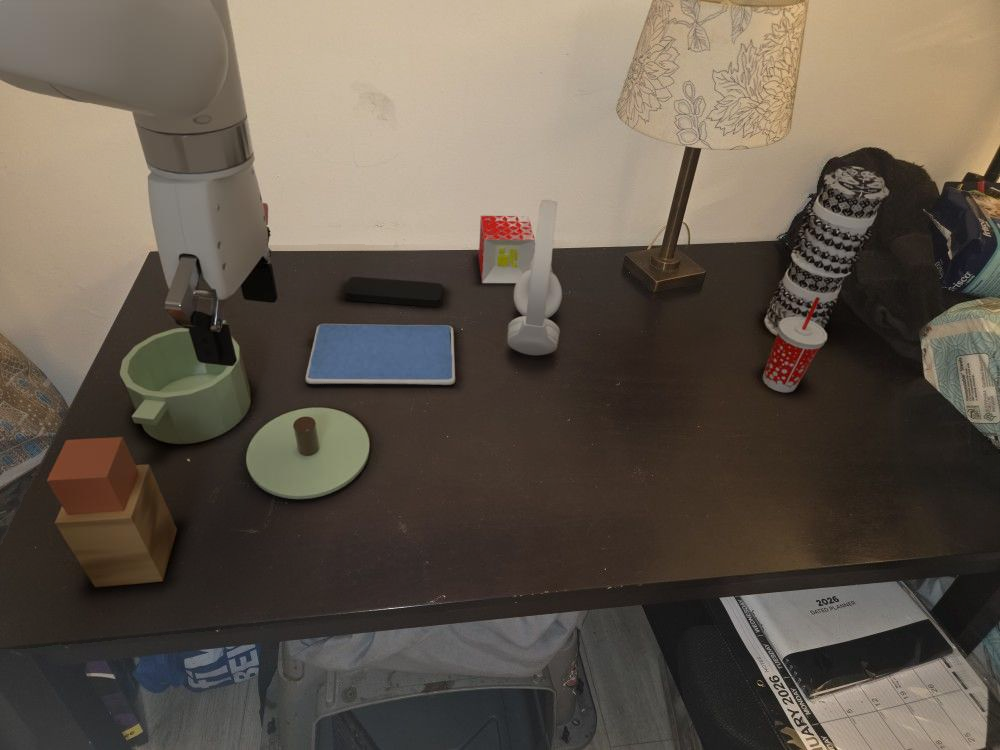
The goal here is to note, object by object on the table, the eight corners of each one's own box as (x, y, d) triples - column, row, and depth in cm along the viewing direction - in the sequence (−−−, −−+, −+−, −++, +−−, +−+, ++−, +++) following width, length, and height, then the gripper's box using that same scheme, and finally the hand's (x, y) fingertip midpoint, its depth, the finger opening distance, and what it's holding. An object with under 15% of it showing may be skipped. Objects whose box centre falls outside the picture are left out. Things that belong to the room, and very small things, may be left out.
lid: (382, 421, 80) (380, 390, 76) (351, 510, 69) (347, 478, 66) (274, 408, 80) (267, 376, 77) (227, 494, 70) (217, 462, 66)
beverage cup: (798, 371, 93) (838, 289, 83) (804, 399, 88) (847, 316, 79) (754, 364, 93) (789, 281, 84) (758, 391, 89) (796, 307, 80)
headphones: (559, 303, 102) (577, 182, 89) (554, 378, 88) (575, 248, 75) (514, 297, 102) (525, 176, 89) (502, 372, 88) (513, 241, 75)
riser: (163, 581, 62) (131, 517, 55) (94, 587, 61) (54, 523, 54) (177, 529, 66) (149, 464, 60) (113, 534, 65) (78, 468, 59)
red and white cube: (481, 283, 105) (484, 239, 100) (478, 257, 111) (480, 215, 105) (530, 283, 106) (535, 240, 100) (524, 258, 112) (529, 216, 106)
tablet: (453, 330, 95) (453, 323, 94) (455, 388, 85) (455, 380, 84) (318, 329, 93) (317, 322, 92) (304, 388, 83) (303, 380, 82)
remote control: (444, 292, 103) (349, 282, 102) (444, 283, 102) (348, 273, 101) (441, 310, 99) (342, 300, 98) (441, 301, 98) (341, 290, 97)
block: (124, 510, 56) (106, 476, 53) (66, 515, 55) (46, 480, 52) (138, 470, 59) (122, 436, 56) (84, 474, 58) (66, 439, 55)
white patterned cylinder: (762, 304, 105) (822, 154, 89) (821, 318, 103) (894, 167, 87) (760, 335, 99) (825, 179, 82) (823, 351, 97) (902, 194, 81)
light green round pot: (274, 366, 86) (264, 320, 81) (214, 468, 72) (198, 420, 67) (181, 355, 86) (166, 308, 82) (105, 454, 73) (81, 405, 68)
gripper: (200, 100, 55) (238, 275, 65) (79, 184, 41) (152, 386, 52) (287, 109, 54) (311, 283, 65) (194, 196, 41) (244, 396, 52)
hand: (240, 329), depth 59 cm, fingers open, 9 cm apart
